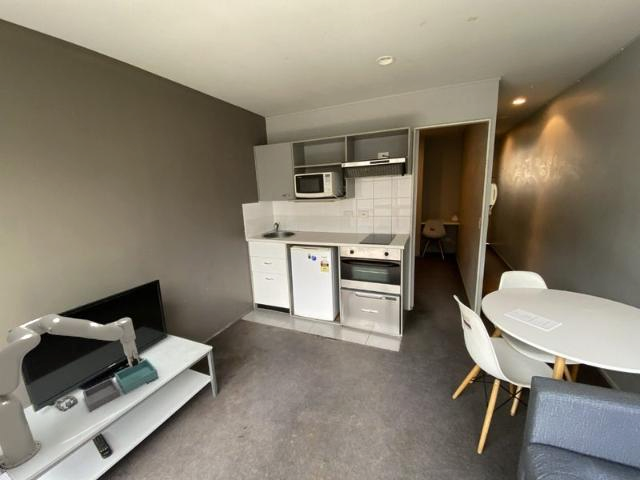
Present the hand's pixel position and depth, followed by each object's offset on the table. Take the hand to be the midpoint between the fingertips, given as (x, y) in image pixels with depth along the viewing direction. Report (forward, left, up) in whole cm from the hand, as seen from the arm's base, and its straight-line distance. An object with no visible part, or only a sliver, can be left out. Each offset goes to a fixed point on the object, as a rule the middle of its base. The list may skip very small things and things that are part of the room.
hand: (134, 363), depth 170 cm
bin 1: (-18, 0, -12) cm, 22 cm away
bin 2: (0, 0, -12) cm, 12 cm away
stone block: (0, 0, 0) cm, 0 cm away
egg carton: (-32, +10, -12) cm, 36 cm away
